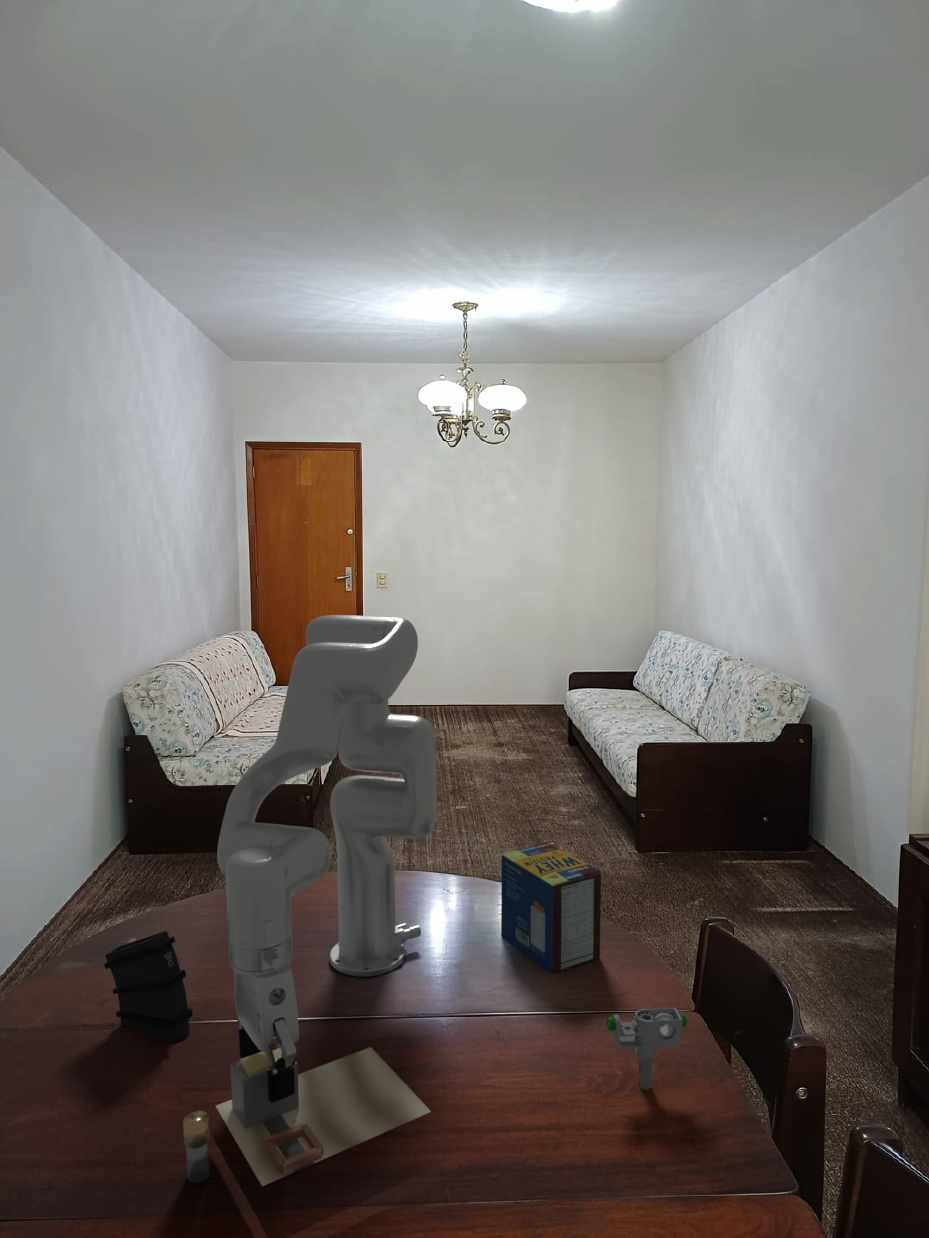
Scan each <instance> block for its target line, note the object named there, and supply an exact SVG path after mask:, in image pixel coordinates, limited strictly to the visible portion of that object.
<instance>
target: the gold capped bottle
mask: <svg viewBox="0 0 929 1238" xmlns="http://www.w3.org/2000/svg"><path fill="white" fill-rule="evenodd" d="M182 1125H183V1127H182V1128H183V1143H184V1146H185V1151H186V1152H185V1155H186V1158H185V1159H186V1176H187V1177H186V1179H187V1181H188V1182H189V1183H191V1184H200V1183H202V1182H204V1181H206V1180H207V1179H208V1178H209V1175H210V1165H209V1164H210V1161H209V1159H210V1158H209V1141H210V1139H211V1137H210V1117H209V1113H207V1112H206V1111H203V1110H197V1111H192V1112H190V1113H188V1114H187V1115H185V1117H184V1118H183V1120H182Z"/></svg>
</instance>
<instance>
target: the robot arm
mask: <svg viewBox="0 0 929 1238" xmlns="http://www.w3.org/2000/svg"><path fill="white" fill-rule="evenodd" d="M418 640H419V638H418V633H417V630H416V628H415V626H414V625H413V623H412V622H411V621H410V620H408V619H407V618H403V617H398V616H375V615H368V616H367V615H356V614H355V615H352V614H351V615H350V614H347V615H346V614H330V615H322V616H318V617H316V618H313V619H312V620H311V621H309V623H308V624H307V626H306V629H305V643H306V645H305V646H304V647H302V648H301V649H300V650H299V651H298V652H297V654H296V656H295V658H294V661H293V664H292V669H291V673H290V677H289V682H288V686H287V690H286V694H285V698H284V704H283V708H282V712H281V716H280V721H279V726H278V731H277V735H276V739H275V741H274V744H273V745H272V747H270V749H268V750H267V751H266V752H264V753H263V754H262V755H261V756H260V757H259V758H258V759H257V760H256V761H255V762H253V763H252V765H251V766H250V767H249V768H248V769H247V770H246V771H245V773H244V774H243V775H242V777H241V778H240V779H239V780H238V782H237V783H236V785H235V787H234V788H233V789H232V792H231V793H230V795H229V797H228V800H227V804H226V807H225V811H224V815H223V819H222V823H221V824H222V825H221V827H220V833H219V837H218V843H217V844H218V845H217V853H216V855H217V856H216V858H217V864H218V868H219V871H220V872H221V873H222V875H224V876H225V892H226V893H225V894H226V910H227V911H226V912H227V929H228V930H227V931H228V950H229V952H228V953H229V966H230V968H231V970H232V971H234V1003H235V1012H236V1016H237V1025H238V1028H239V1029H238V1045H239V1048H238V1049H239V1057H240V1059H242V1058H245V1057H248V1056H251V1055H253V1054H256V1053H259V1052H265V1053H266V1056H267V1060H268V1064H269V1068H270V1070H269V1071H267V1083H268V1100H269V1101H270V1103H274V1102H276V1101H279V1100H281V1099H284V1098H286V1097H289V1096H291V1095H293V1094H294V1092H295V1083H294V1067H295V1061H296V1062H297V1059H296V1057H297V1047H296V1046H295V1043H297V1042H298V1040H299V1038H300V1029H299V1028H300V1027H299V1016H298V1005H297V996H296V987H295V981H294V976H293V975H294V974H293V971H292V970H293V969H292V967H291V964H290V963H291V962H292V960H293V932H292V928H293V927H292V908H291V906H292V905H291V899H292V897H293V896H295V895H297V894H299V893H300V892H302V891H304V890H306V889H308V888H310V887H311V886H313V885H314V884H316V883H317V882H318V881H319V880H320V878H322V876H323V875H324V874H325V872H326V871H327V869H328V867H329V864H330V862H331V861H330V860H331V855H332V853H331V843H330V840H329V838H328V837H327V836H326V834H325V833H324V832H322V831H320V830H319V829H317V828H314V827H309V826H307V827H306V826H298V825H288V824H278V823H267V822H256V818H257V814H258V812H259V809H260V807H261V805H262V803H263V802H264V800H265V799H266V797H267V796H268V795H269V794H270V793H271V792H272V791H273V790H275V789H276V788H277V787H278V786H280V785H282V783H285V782H286V781H289V780H290V779H293V778H295V777H297V776H300V775H302V774H304V773H307V772H309V771H313V770H315V769H318V768H320V767H323V766H325V765H328V764H329V763H331V762H333V760H335V758H336V757H337V755H338V758H339V761H340V762H341V765H343V767H345V768H347V769H349V770H352V771H357V772H360V771H361V772H369V773H381V774H383V773H384V774H396V775H401V776H402V777H389V776H379V775H377V776H376V775H365V774H363V775H350V776H348V777H344V778H342V779H341V780H339V781H338V782H337V783H336V784H335V785H334V787H333V788H332V791H331V795H330V799H329V800H330V815H331V820H332V823H333V829H334V834H335V841H336V843H335V844H336V854H337V855H336V860H337V908H338V910H337V911H338V912H337V913H338V915H337V916H338V919H337V920H338V943H335V945H334V946H333V947H332V948H331V950H330V952H329V961H330V964H331V966H332V967H333V969H335V970H336V971H338V972H340V973H341V974H344V975H348V976H353V977H360V978H361V977H363V978H364V977H365V978H366V977H374V976H375V977H376V976H380V975H384V974H387V973H389V972H393V971H394V970H396V969H397V968H398V967H400V966H401V965H402V964H403V962H404V961H405V957H406V956H405V955H406V950H405V946H404V945H403V944H405V943H406V941H407V940H412V939H416V938H418V937H421V935H422V931H421V927H420V925H418V924H416V925H413V926H409V927H408V926H407V924H406V923H403V922H402V923H400V924H396V861H395V855H394V852H393V849H392V847H391V844H390V843H389V842H388V840H387V839H386V837H391V838H403V839H422V838H426V837H427V836H429V835H430V834H431V833H432V832H433V830H434V828H435V825H436V822H437V821H436V819H437V812H438V811H437V809H438V808H437V807H438V803H437V801H438V797H437V796H438V795H437V791H438V790H437V788H438V787H437V754H436V753H437V752H436V751H437V749H436V738H435V733H434V729H433V727H432V725H431V723H430V722H429V721H428V719H426V718H425V717H423V716H419V715H414V714H400V713H399V714H396V713H392V712H391V711H390V707H389V699H390V698H392V696H393V695H394V694H395V692H396V691H397V689H398V688H399V687H400V685H401V683H402V682H403V680H404V679H405V677H406V676H407V674H408V673H409V672H410V671H411V668H412V666H413V665H414V663H415V659H417V658H416V657H417V653H418V649H419V648H418V647H419V641H418ZM273 1039H277V1041H278V1042H276V1043H273V1044H271V1043H272V1041H273ZM279 1048H281V1051H282V1054H281V1056H282V1058H279V1059H278V1060H277V1061H276V1062H275V1058H274V1055H273V1051H274V1050H277V1049H279Z"/></svg>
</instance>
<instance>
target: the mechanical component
mask: <svg viewBox="0 0 929 1238" xmlns="http://www.w3.org/2000/svg"><path fill="white" fill-rule="evenodd" d="M687 1024H688V1021H687V1016H686V1014H685V1013H679V1011H678V1010H677V1007H673V1008H669V1007H667V1008H648V1009H647V1008H642V1009H637V1010H636V1011H635V1013H634V1016H633V1019H632V1020H631V1021H628V1022H623V1021H622V1020H621V1018H620V1016H619V1014H613V1015H611V1017H607V1018H606V1026H607V1027H606V1028H607V1030H608V1032H610V1031H611V1033H612V1035H613V1038H614V1040H615V1042H616V1044H617V1046H618V1047H619V1049H621V1050H635V1054H636V1057H638V1058H639V1063H638V1064H639V1065H638V1069H639V1070H638V1083H639V1084H638V1085H639V1086H640V1088H641V1089H642V1090H645V1091H646V1090H648V1091H649V1090H650V1089H651V1087H652V1063H653V1062H652V1061H653V1059H654V1058H656V1056H657V1053H656V1049H658V1048H659V1049H660V1048H674V1047H676V1046H678V1045H679V1044H680V1042H681V1039H682V1032H683V1028H686V1027H687V1026H688V1025H687Z"/></svg>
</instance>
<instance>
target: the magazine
mask: <svg viewBox="0 0 929 1238" xmlns="http://www.w3.org/2000/svg"><path fill="white" fill-rule="evenodd" d="M175 942H176V939H175V936H170V935H169V933H168V931H167V930H164V931H161V932H158V933H155V934H153V935H149V936H147V937H143V938H140V939H138V940H134V941H132V942H128V943H125V944H122V945H119V946H118V947H116V948H114V949H113V950H110V951H109V952H107V953H105V954H104V957H105V959H106V962H105V963H104V964H103V967H104V969H105V970H108V969H109V970H110V972H111V975H112V978H113V980H114V981H113V982H114V984H115V988H114V989H112V994H113V995H115V994H116V995H117V997H118V1005H119V1010H117V1011H116V1012H115V1017H116V1018H120V1024H121V1026H123V1027H125V1028H128V1029H131V1030H135V1031H137V1032H141V1033H143V1034H146V1035H149V1036H153V1037H155V1038H159V1039H160V1040H164V1041H165V1042H166V1041H167V1042H170V1043H173V1044H177V1043H178V1042H179V1041H181V1040H182V1039H184V1038H185V1037H186V1036H187V1035H188V1034H190V1031H191V1030H190V1021H189V1019H190V1018H191V1017H193V1009H192V1008H189V1007H188V1000H187V992H186V987H185V983H184V978H186V977H187V974H186V970H185V969H181V968H180V964H179V960H178V956H177V953H176V951H175V948H174V946H173V944H174V943H175Z"/></svg>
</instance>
